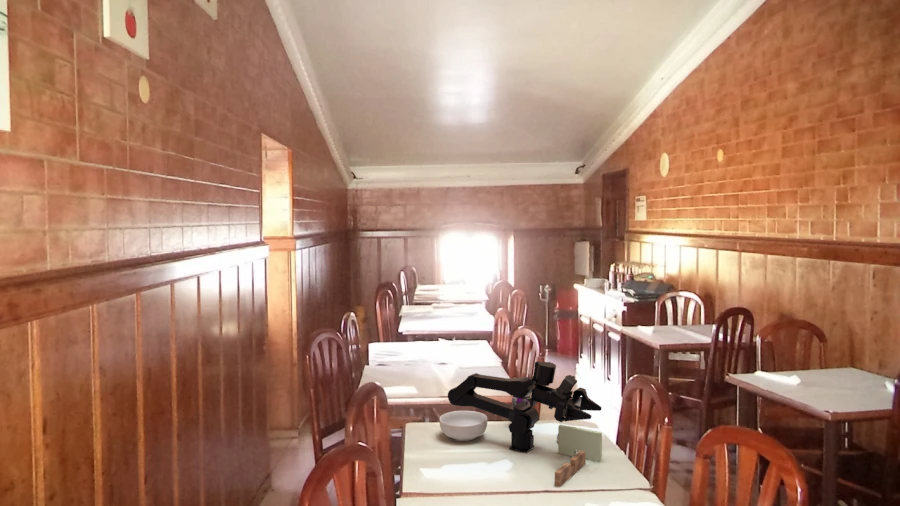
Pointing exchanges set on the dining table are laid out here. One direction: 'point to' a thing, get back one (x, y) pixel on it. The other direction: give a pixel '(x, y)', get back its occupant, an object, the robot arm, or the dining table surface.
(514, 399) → the beverage can
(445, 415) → the cereal bowl
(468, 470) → the dining table surface
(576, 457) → the notched wooden bar
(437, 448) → the dining table surface
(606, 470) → the dining table surface
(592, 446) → the upright grey panel
